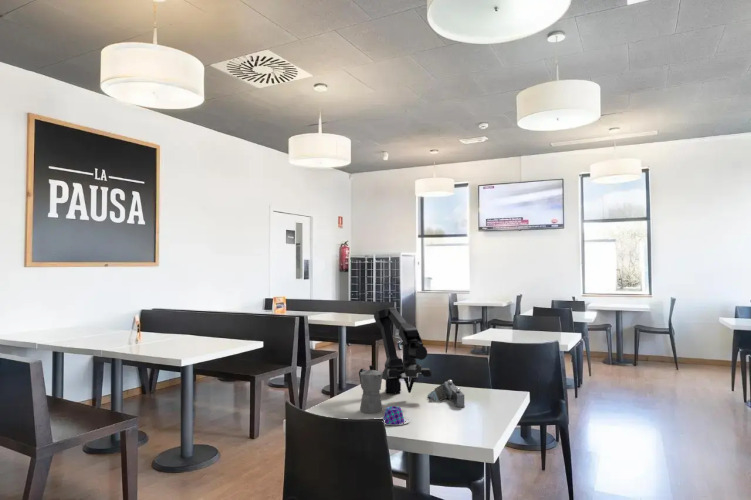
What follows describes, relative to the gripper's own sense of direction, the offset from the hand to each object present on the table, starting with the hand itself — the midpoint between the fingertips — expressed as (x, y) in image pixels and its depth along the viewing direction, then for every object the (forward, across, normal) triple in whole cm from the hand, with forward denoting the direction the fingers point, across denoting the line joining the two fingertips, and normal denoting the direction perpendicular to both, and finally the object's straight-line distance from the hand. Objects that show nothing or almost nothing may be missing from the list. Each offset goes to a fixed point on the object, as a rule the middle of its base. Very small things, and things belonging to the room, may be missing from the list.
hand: (409, 392), depth 218 cm
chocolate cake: (+4, +12, +2) cm, 13 cm away
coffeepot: (+3, -18, -16) cm, 24 cm away
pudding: (+4, -10, -32) cm, 34 cm away
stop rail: (+3, +19, -1) cm, 20 cm away
